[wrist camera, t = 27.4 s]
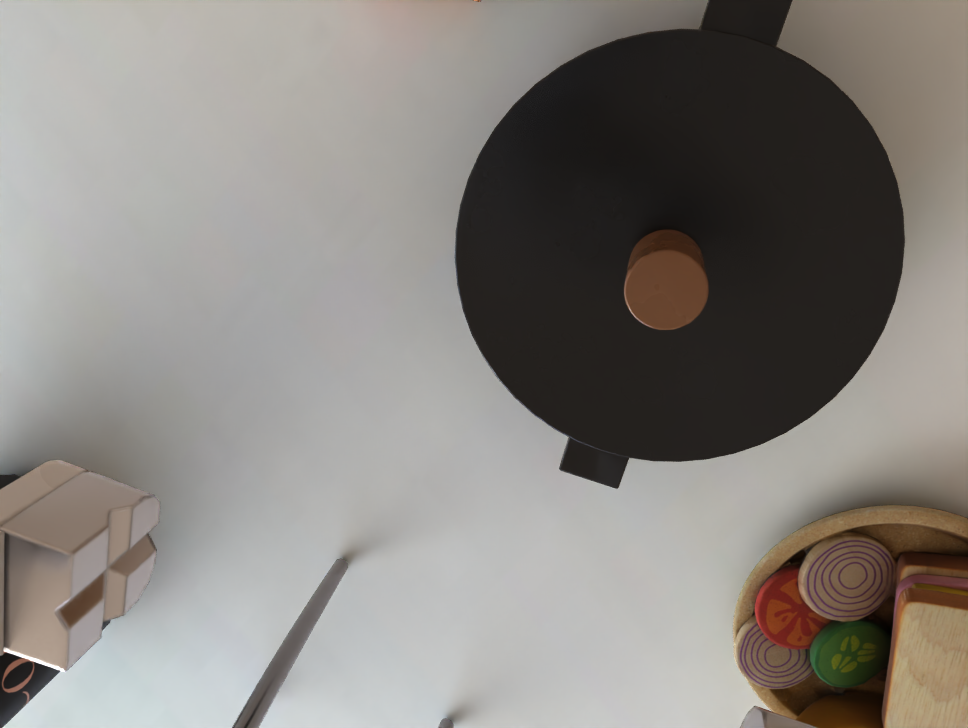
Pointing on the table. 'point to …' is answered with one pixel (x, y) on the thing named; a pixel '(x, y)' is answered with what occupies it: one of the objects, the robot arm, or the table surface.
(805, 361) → the lid
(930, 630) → the toy sandwich meal
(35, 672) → the coffee jar
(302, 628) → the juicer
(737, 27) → the pan
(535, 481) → the table surface
